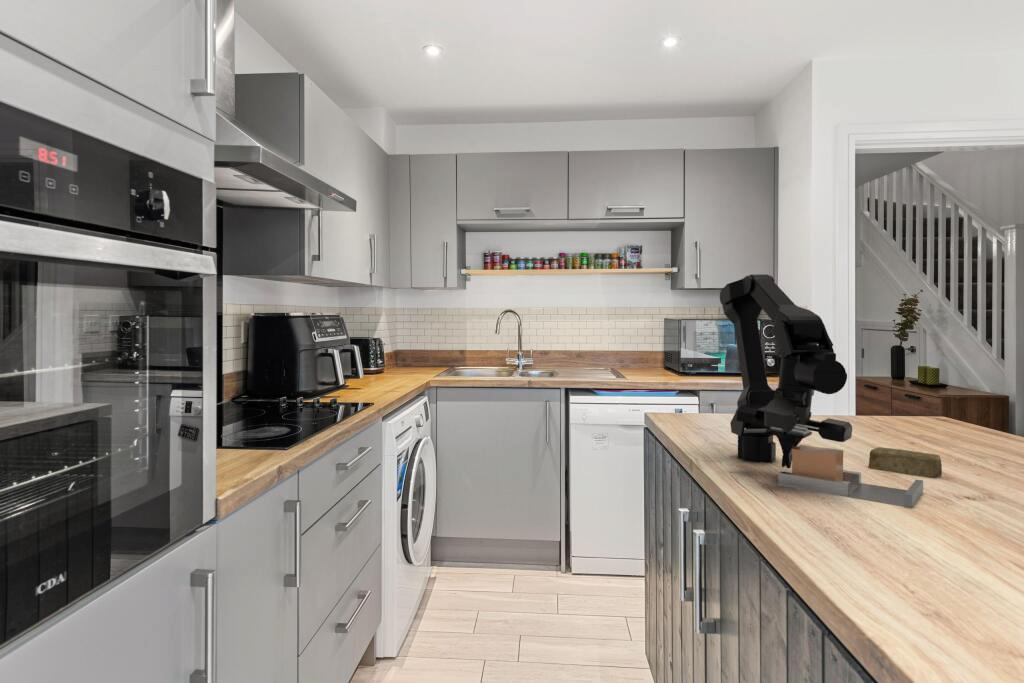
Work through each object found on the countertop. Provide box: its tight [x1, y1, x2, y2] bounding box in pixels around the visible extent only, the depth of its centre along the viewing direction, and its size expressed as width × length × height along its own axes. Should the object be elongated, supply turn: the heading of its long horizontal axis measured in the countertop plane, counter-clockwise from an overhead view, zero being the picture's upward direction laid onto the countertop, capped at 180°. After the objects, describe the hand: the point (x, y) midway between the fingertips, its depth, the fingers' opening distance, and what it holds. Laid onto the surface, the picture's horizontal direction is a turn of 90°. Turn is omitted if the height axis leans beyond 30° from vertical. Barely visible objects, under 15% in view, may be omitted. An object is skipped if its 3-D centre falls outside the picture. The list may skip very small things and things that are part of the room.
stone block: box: [868, 447, 943, 479], centre depth 114 cm, size 6×12×5 cm, turn 44°
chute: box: [776, 469, 924, 509], centre depth 102 cm, size 20×11×3 cm, turn 48°
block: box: [791, 444, 844, 481], centre depth 106 cm, size 7×5×6 cm
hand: (786, 467), depth 109 cm, fingers closed
